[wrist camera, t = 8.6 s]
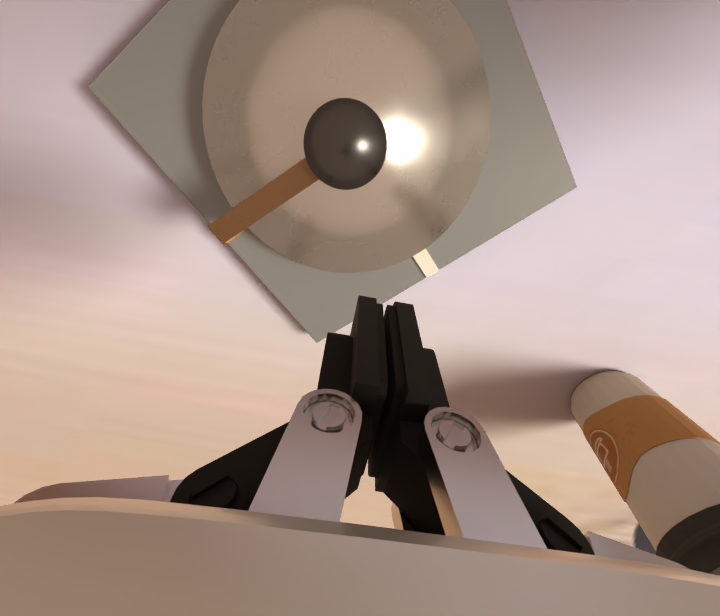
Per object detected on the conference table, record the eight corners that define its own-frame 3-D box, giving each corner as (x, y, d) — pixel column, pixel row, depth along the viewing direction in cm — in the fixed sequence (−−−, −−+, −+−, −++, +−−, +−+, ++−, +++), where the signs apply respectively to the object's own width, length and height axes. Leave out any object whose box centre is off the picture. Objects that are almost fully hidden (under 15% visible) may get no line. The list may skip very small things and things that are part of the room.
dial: (401, -132, 16) (417, -219, 12) (523, 185, 22) (560, 201, 18) (143, 94, 20) (87, 89, 16) (309, 307, 26) (300, 343, 22)
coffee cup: (559, 367, 32) (704, 548, 18) (658, 351, 31) (884, 529, 18) (554, 433, 35) (671, 622, 22) (642, 420, 35) (817, 608, 21)
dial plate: (404, -225, 16) (409, -261, 14) (564, 183, 24) (578, 187, 23) (104, 88, 21) (85, 86, 20) (318, 332, 30) (316, 344, 28)
